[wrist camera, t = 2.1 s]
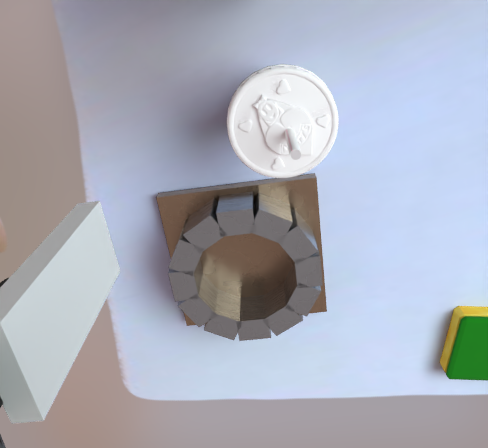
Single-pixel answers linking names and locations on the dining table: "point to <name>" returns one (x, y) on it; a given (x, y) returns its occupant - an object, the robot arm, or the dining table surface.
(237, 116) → the smoothie
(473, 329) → the dish sponge
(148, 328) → the dining table surface
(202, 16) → the dining table surface
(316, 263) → the stone fire pit ring
